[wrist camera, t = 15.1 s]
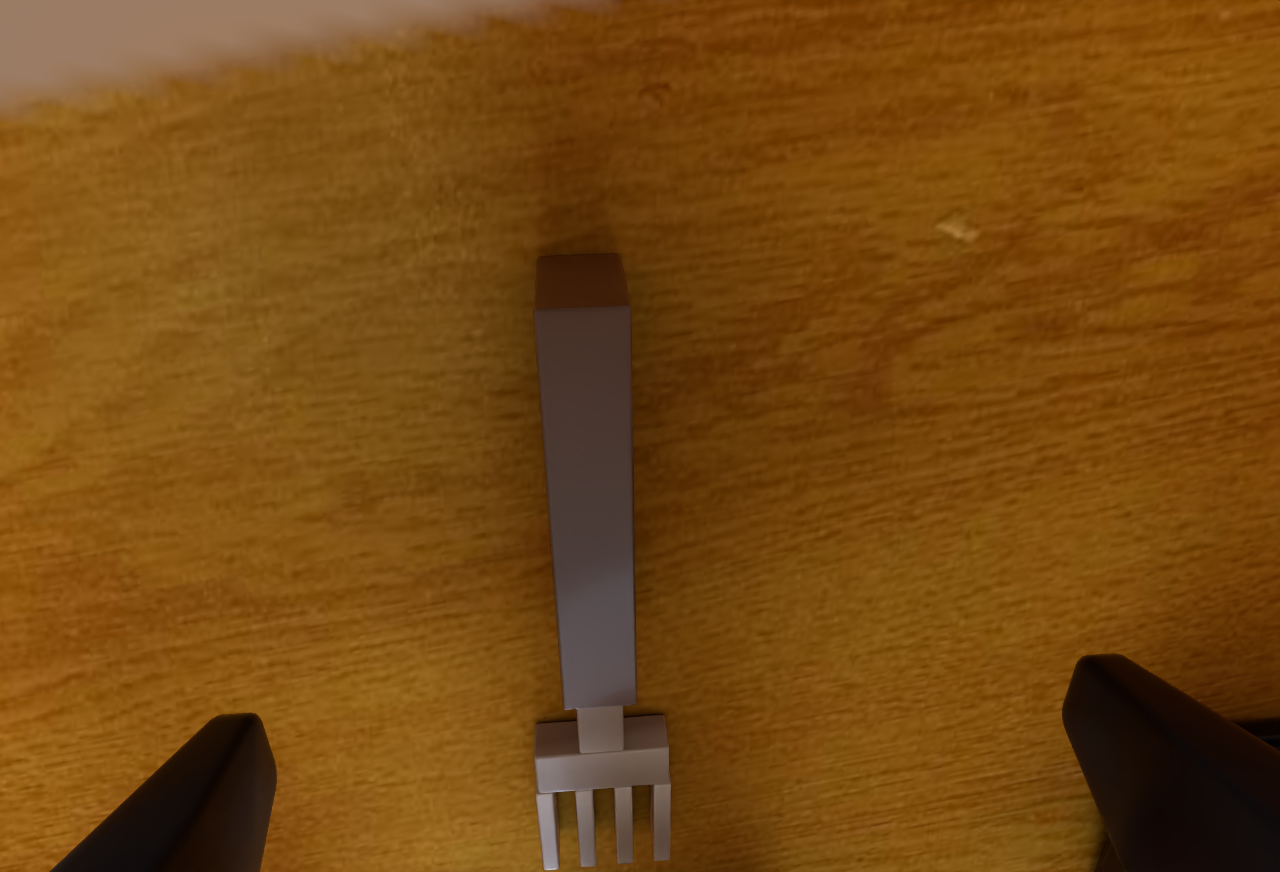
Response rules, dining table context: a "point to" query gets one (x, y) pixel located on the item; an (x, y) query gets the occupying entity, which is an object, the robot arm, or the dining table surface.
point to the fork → (593, 558)
